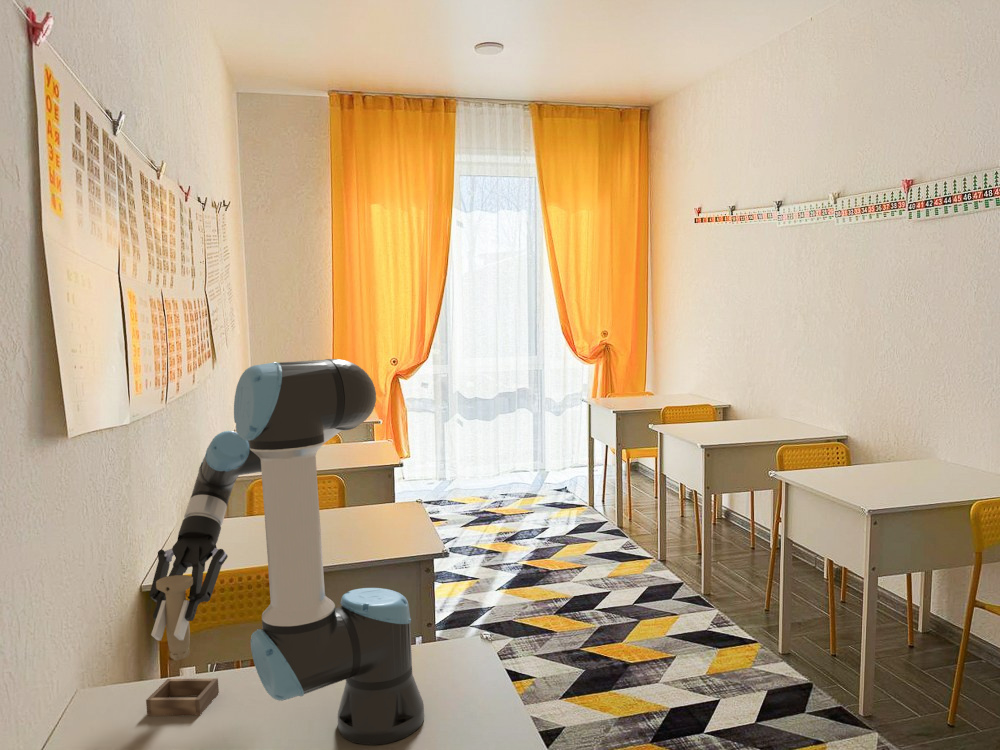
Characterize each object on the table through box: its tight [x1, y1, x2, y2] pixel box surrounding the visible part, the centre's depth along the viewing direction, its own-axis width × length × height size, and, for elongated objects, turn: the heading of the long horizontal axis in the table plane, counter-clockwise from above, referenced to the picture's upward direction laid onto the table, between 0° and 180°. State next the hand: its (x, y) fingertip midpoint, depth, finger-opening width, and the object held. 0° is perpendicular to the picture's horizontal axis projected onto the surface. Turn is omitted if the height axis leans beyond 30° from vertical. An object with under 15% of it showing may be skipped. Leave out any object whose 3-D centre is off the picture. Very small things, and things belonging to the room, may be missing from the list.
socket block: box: [145, 677, 220, 717], centre depth 138 cm, size 10×8×3 cm
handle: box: [156, 574, 193, 661], centre depth 137 cm, size 5×6×15 cm
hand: (167, 637), depth 133 cm, fingers closed on handle, 3 cm apart
